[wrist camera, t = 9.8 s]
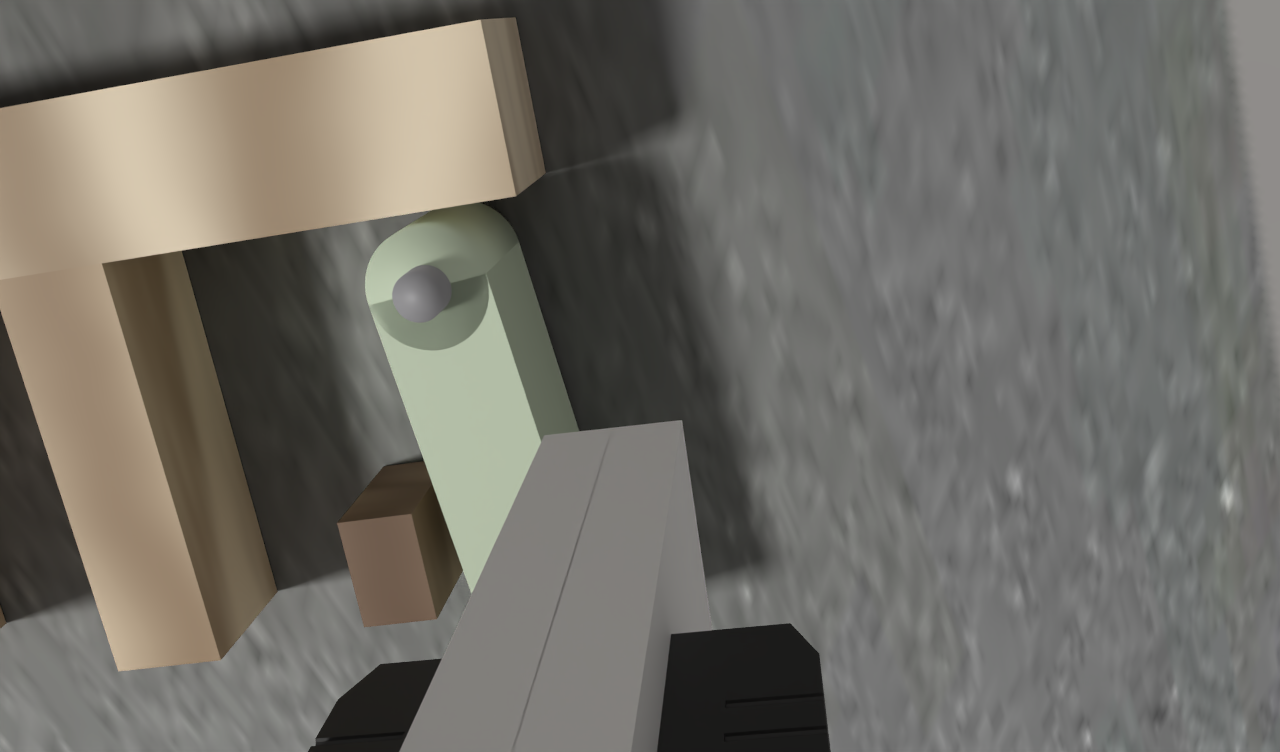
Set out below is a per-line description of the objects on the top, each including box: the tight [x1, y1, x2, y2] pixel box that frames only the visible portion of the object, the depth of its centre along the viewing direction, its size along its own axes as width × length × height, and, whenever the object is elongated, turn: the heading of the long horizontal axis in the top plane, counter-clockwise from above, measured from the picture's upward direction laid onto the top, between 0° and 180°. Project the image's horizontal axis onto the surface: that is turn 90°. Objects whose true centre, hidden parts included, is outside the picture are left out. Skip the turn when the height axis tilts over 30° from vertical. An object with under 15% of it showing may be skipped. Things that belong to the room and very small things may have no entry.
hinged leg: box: [365, 202, 579, 594], centre depth 32 cm, size 12×3×5 cm, turn 16°
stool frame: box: [0, 17, 546, 671], centre depth 33 cm, size 24×15×4 cm, turn 100°
